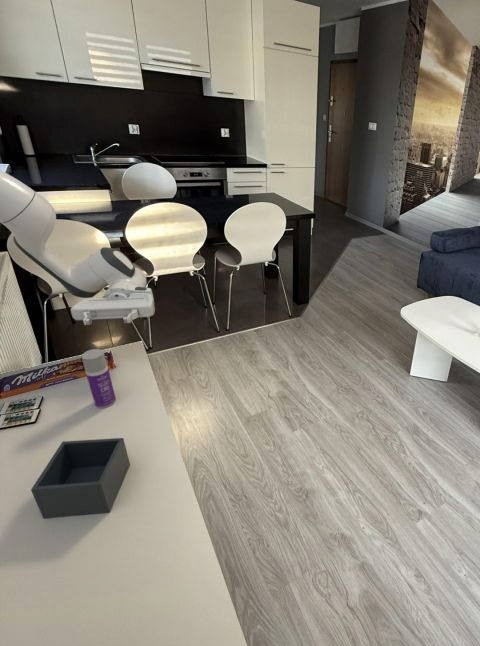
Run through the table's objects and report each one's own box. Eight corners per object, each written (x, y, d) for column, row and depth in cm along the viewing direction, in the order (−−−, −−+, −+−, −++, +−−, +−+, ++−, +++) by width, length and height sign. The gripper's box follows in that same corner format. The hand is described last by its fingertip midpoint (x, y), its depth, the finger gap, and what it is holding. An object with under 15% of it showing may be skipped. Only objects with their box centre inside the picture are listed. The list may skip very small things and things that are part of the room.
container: (107, 409, 100) (94, 360, 93) (90, 406, 101) (76, 357, 94) (120, 397, 104) (108, 350, 98) (103, 394, 105) (91, 347, 98)
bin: (43, 518, 74) (30, 489, 71) (72, 468, 84) (62, 441, 80) (109, 512, 76) (100, 484, 73) (130, 464, 86) (123, 437, 83)
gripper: (78, 290, 113) (58, 313, 101) (156, 288, 118) (146, 309, 106) (84, 309, 116) (65, 334, 104) (160, 306, 121) (150, 329, 109)
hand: (106, 321), depth 105 cm, fingers open, 8 cm apart
